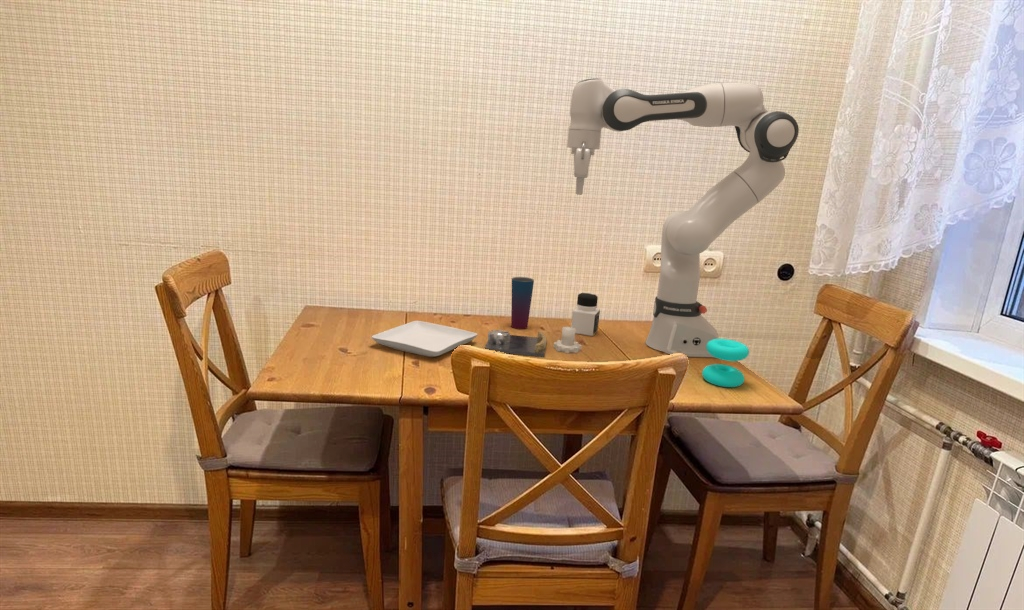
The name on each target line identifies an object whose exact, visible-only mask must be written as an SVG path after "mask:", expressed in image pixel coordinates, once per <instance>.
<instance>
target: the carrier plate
mask: <svg viewBox="0 0 1024 610" xmlns="http://www.w3.org/2000/svg"><path fill="white" fill-rule="evenodd" d="M487 334H488V335H487V342H486V344H485V346H484V348H485V349H489V350H495V351H500V352H504V353H503V354H505V353H510V354H509V355H515V354H516V355H517V356H526V357H527V356H529V357H539V358H545V354H546V346H547V336H546V334H545V333H544V332H542V331H538V332H537V336H536V337H535V336H525V335H515V334H513V335H512V334H511V333H510V332H509V331H508V330H503V329H498V330H495V329H491V331H490V330H488V333H487ZM521 354H522V355H521Z"/></svg>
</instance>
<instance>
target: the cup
mask: <svg viewBox="0 0 1024 610" xmlns="http://www.w3.org/2000/svg"><path fill="white" fill-rule="evenodd" d="M534 284H535V279H534V278H532V277H528V276H513V277H512V278H511V311H510V312H511V315H510V316H511V318H510V320H511V323H510V324H511V328H514V329H519V330H525V329H527V328H528V327H529V319H530V312H531V304H532V299H533V298H532V297H533V290H534Z"/></svg>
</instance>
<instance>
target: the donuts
mask: <svg viewBox="0 0 1024 610" xmlns="http://www.w3.org/2000/svg"><path fill="white" fill-rule="evenodd" d="M706 348H707V351H708V352H709V353H710V354H711V355H712V356H714V357H713V358H716V359H719V360H723V361H728V362H739V361H742V360H745V359H746V358H747V357H748V356H749V354H750V350H749V348H748V346H747V345H746V344H744V343H742V342H740V341H736V340H733V339H727V338H719V339H713V340H710V341H709V342H708V343H707V346H706ZM701 372H702V378H703V379H704V380H705V381H706V382H708V383H709V384H711V385H715V386H718V387H723V388H736V387H737V388H738V387H740V386H741V385H743V384H744V382H745V376H744V373H743V372H742V371H741V370H740V369H738V368H736V367H734V366H731V365H728V364H721V363H713V364H709V365H706V366H705V367H704V368H703V369H702V371H701Z"/></svg>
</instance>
